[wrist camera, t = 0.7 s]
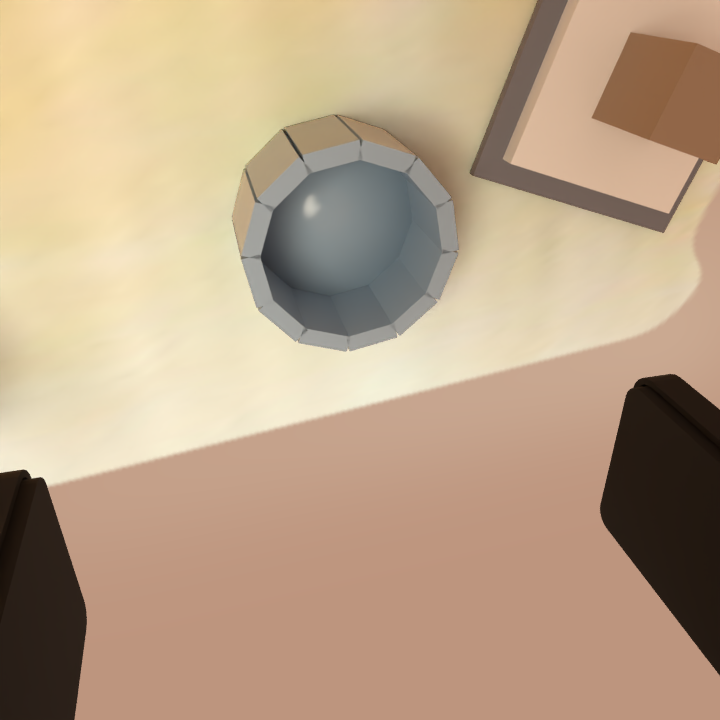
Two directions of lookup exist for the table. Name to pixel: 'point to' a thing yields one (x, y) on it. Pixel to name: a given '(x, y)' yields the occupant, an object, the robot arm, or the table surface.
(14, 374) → the table surface
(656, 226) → the mat
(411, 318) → the bowl
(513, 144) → the lid
